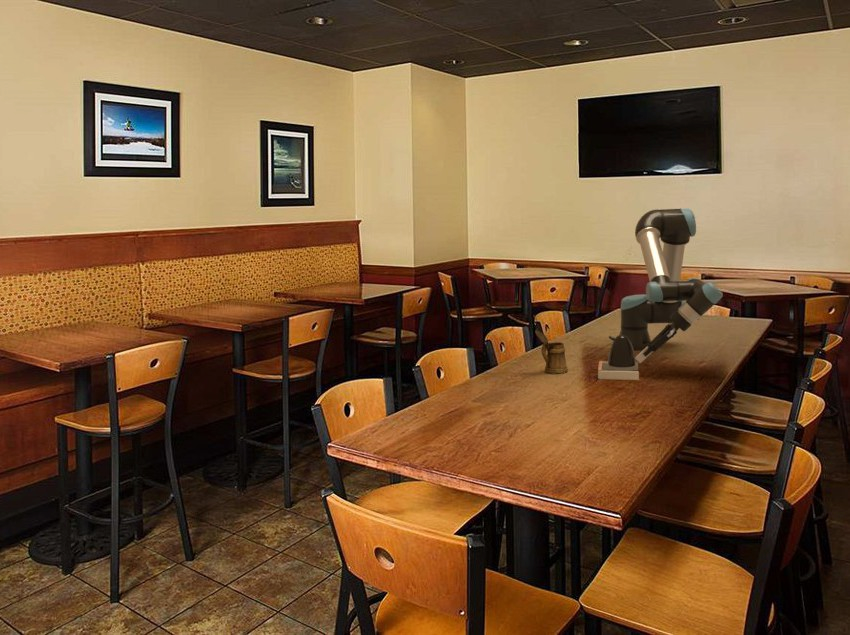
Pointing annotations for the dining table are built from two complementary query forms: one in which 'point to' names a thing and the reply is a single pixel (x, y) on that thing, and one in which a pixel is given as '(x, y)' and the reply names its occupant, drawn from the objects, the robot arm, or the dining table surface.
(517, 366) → the dining table surface
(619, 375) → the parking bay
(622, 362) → the black tall rounded piece
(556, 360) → the wooden mug
